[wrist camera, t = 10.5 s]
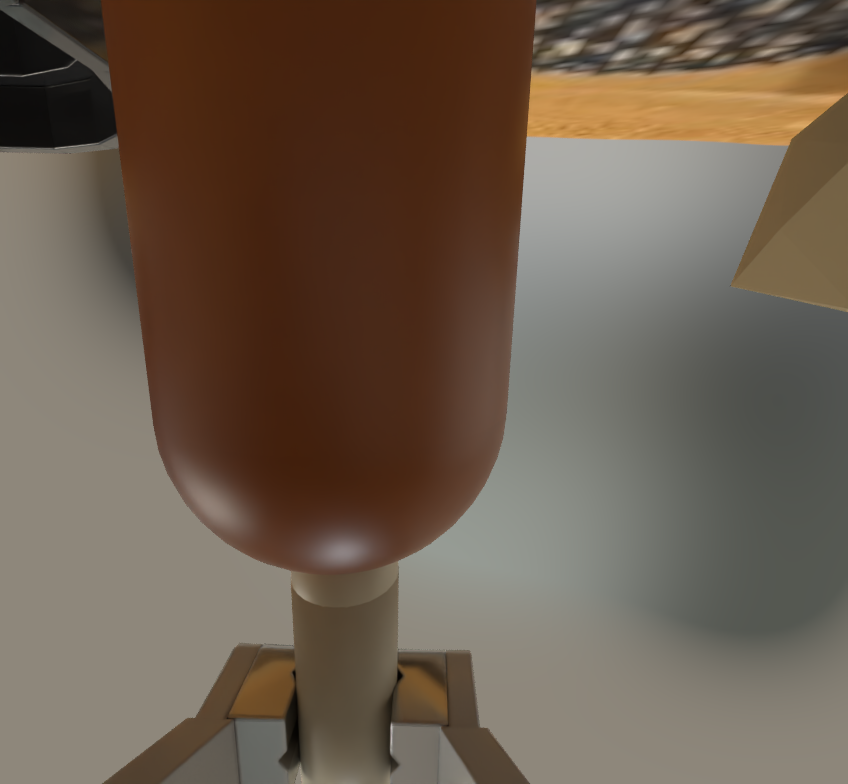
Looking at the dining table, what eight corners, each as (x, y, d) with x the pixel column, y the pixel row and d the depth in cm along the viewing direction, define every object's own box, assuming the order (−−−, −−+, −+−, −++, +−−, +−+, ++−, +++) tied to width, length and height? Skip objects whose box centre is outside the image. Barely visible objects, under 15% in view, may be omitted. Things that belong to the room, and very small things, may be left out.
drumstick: (204, -256, 7) (276, 779, 12) (-361, -1630, 2) (167, 1127, 7) (521, -251, 7) (460, 785, 12) (754, -1641, 2) (481, 1140, 7)
